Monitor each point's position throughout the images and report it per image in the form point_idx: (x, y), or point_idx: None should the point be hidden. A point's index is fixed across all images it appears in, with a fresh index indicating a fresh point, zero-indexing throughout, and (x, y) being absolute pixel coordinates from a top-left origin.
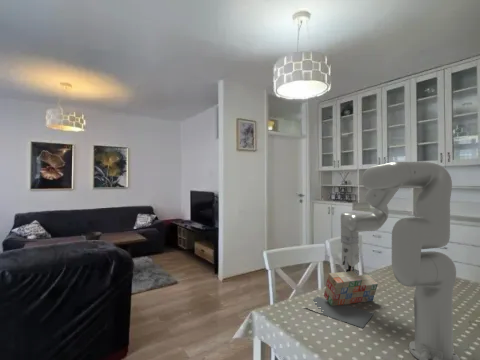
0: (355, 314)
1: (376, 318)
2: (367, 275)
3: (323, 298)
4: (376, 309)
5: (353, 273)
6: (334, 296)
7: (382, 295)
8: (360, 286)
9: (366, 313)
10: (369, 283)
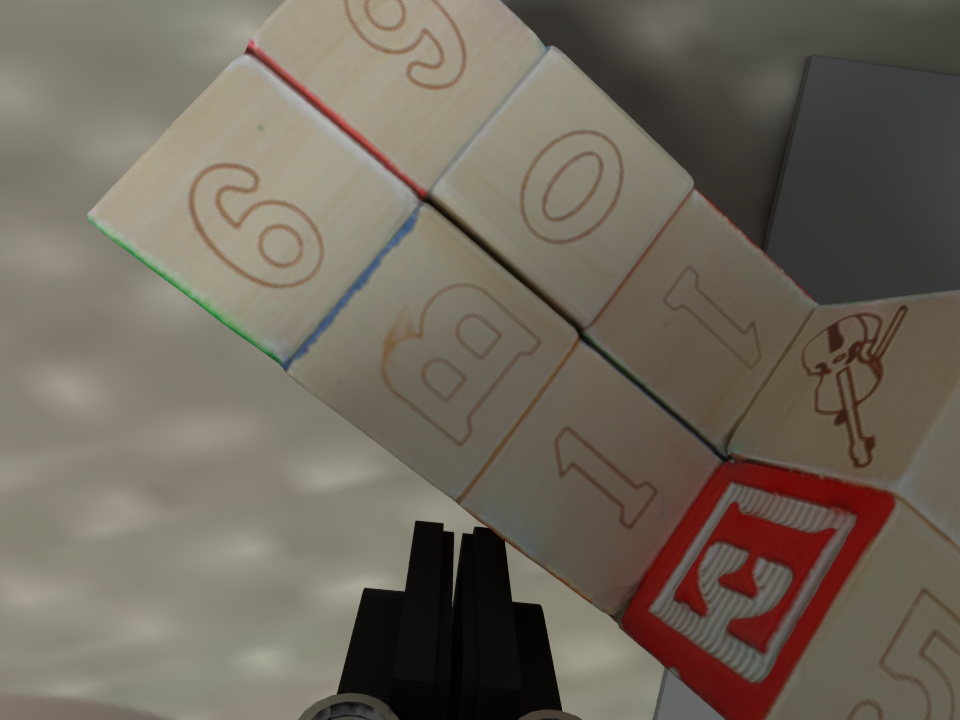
0: (955, 268)
1: (929, 2)
2: (146, 236)
3: (668, 689)
4: (635, 41)
5: (892, 654)
6: None
7: (20, 20)
8: (804, 304)
9: (867, 145)
10: (560, 116)
